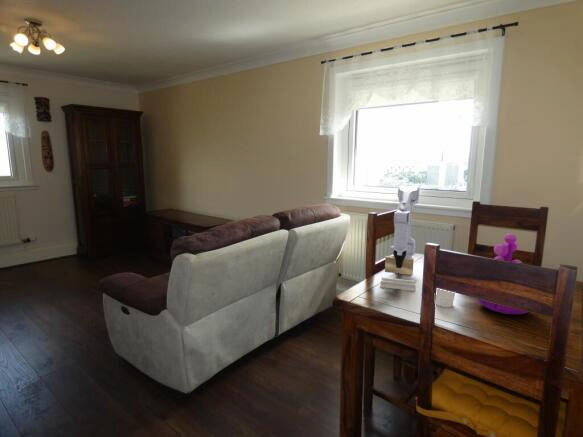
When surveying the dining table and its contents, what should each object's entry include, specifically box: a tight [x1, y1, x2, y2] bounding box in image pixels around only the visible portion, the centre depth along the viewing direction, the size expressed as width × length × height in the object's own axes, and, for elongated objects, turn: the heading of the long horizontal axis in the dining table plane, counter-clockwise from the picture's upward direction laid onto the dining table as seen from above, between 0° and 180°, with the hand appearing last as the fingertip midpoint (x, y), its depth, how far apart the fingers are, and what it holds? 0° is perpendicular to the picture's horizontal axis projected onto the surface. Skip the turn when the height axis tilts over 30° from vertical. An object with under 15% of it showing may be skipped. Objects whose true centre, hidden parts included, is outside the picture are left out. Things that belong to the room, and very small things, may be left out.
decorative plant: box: [477, 233, 528, 315], centre depth 128 cm, size 19×18×30 cm
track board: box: [379, 276, 417, 292], centre depth 155 cm, size 7×15×2 cm, turn 71°
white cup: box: [435, 289, 456, 308], centre depth 135 cm, size 8×8×10 cm
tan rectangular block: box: [384, 255, 415, 276], centre depth 154 cm, size 2×12×7 cm, turn 71°
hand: (399, 266), depth 154 cm, fingers closed on tan rectangular block, 2 cm apart
